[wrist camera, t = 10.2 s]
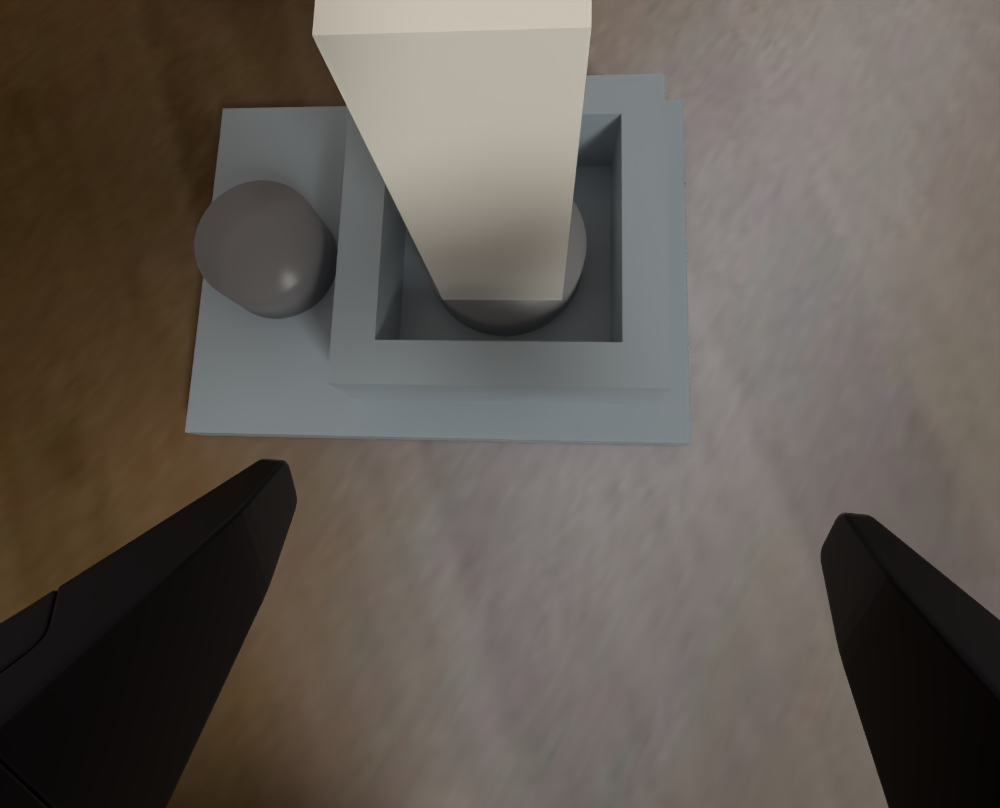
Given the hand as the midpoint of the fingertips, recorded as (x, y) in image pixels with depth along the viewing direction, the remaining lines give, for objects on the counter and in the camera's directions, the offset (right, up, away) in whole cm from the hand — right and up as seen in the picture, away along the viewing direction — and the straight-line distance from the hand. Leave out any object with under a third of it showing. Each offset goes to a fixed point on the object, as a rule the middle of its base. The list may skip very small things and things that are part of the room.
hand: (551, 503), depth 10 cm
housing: (-3, +7, +13) cm, 15 cm away
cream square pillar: (-1, +7, +12) cm, 14 cm away
